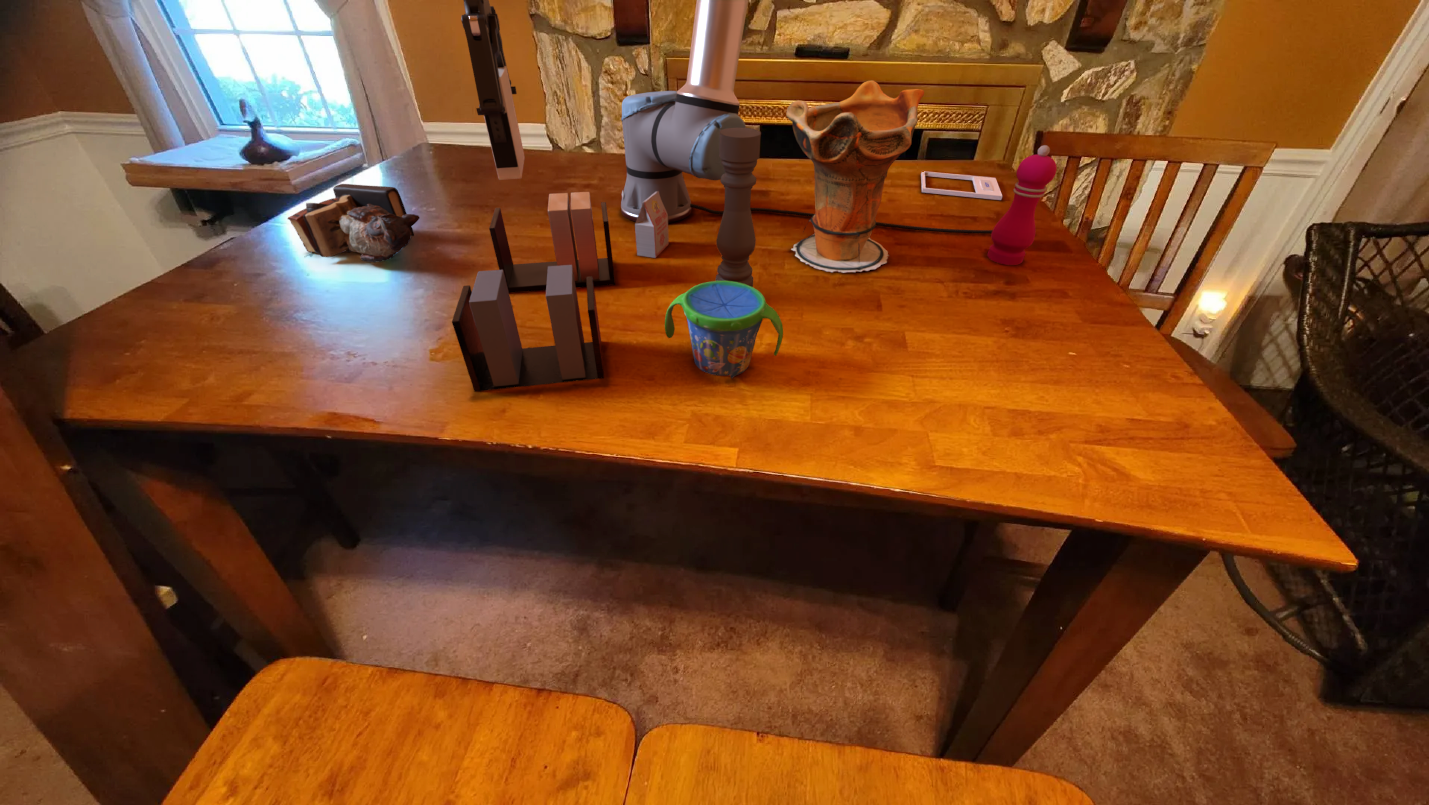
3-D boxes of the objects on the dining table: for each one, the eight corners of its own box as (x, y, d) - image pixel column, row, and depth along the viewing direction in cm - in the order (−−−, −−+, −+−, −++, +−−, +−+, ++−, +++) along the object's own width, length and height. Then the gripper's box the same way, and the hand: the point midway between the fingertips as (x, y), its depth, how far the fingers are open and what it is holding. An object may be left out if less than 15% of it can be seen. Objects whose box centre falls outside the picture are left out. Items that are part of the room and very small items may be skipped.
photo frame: (1002, 195, 129) (922, 187, 133) (1001, 200, 130) (921, 192, 134) (995, 177, 140) (922, 170, 144) (994, 181, 141) (921, 174, 145)
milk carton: (637, 255, 103) (633, 201, 97) (651, 241, 108) (648, 189, 102) (655, 257, 103) (652, 203, 96) (668, 244, 108) (666, 191, 101)
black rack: (612, 262, 101) (604, 189, 93) (615, 284, 94) (607, 208, 86) (509, 269, 98) (492, 195, 90) (505, 293, 91) (485, 215, 83)
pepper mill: (1025, 254, 106) (1069, 143, 94) (1024, 269, 101) (1070, 153, 88) (985, 248, 108) (1022, 137, 96) (982, 262, 103) (1021, 147, 91)
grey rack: (602, 346, 79) (592, 275, 72) (604, 384, 72) (594, 309, 65) (484, 358, 76) (463, 285, 69) (476, 397, 70) (451, 321, 63)
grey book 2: (584, 344, 78) (572, 264, 70) (585, 377, 71) (572, 293, 64) (562, 346, 77) (547, 266, 70) (562, 379, 71) (545, 295, 63)
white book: (524, 157, 83) (506, 65, 76) (521, 178, 76) (500, 78, 68) (504, 158, 83) (483, 66, 75) (498, 179, 75) (475, 79, 68)
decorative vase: (755, 256, 104) (766, 86, 86) (824, 223, 117) (846, 71, 100) (851, 292, 93) (885, 107, 75) (915, 252, 106) (957, 86, 89)
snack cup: (787, 357, 78) (795, 291, 71) (765, 400, 70) (771, 331, 63) (685, 334, 82) (684, 270, 75) (654, 373, 74) (649, 305, 68)
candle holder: (726, 308, 88) (731, 140, 72) (708, 292, 92) (709, 129, 77) (759, 300, 90) (771, 135, 75) (740, 284, 95) (748, 125, 79)
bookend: (340, 182, 106) (443, 183, 98) (365, 238, 112) (463, 243, 104) (268, 204, 95) (377, 208, 87) (300, 265, 101) (404, 273, 93)
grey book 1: (522, 350, 76) (503, 269, 69) (518, 384, 70) (496, 299, 63) (500, 352, 76) (477, 271, 68) (493, 387, 70) (468, 302, 62)
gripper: (447, -48, 72) (489, 136, 86) (412, -46, 55) (473, 182, 69) (506, -47, 73) (539, 134, 88) (491, -46, 56) (534, 179, 70)
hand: (510, 155), depth 78 cm, fingers closed on white book, 10 cm apart
